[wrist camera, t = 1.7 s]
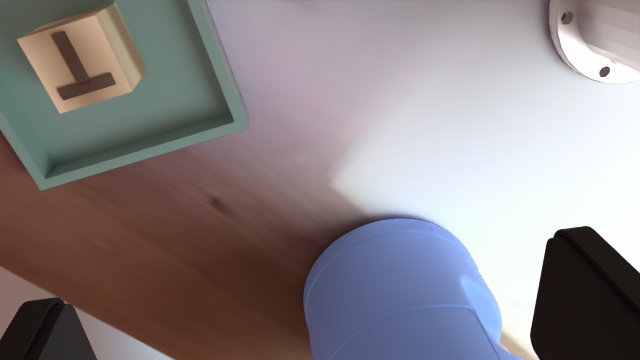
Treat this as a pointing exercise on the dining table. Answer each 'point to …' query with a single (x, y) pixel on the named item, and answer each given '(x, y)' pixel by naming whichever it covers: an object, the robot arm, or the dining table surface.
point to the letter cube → (85, 57)
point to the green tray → (125, 110)
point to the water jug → (400, 297)
